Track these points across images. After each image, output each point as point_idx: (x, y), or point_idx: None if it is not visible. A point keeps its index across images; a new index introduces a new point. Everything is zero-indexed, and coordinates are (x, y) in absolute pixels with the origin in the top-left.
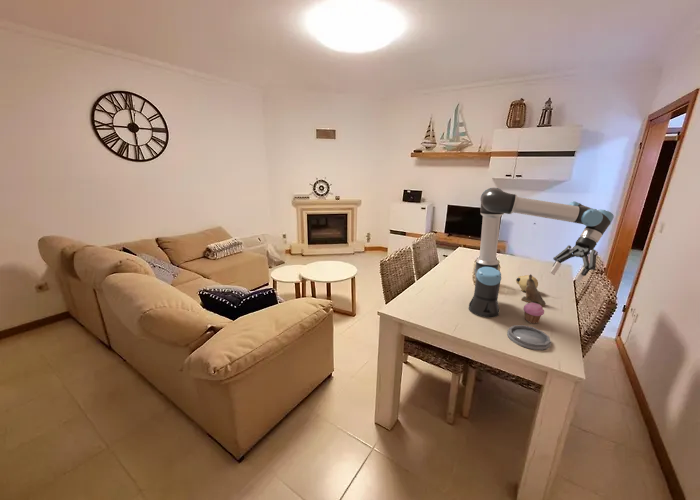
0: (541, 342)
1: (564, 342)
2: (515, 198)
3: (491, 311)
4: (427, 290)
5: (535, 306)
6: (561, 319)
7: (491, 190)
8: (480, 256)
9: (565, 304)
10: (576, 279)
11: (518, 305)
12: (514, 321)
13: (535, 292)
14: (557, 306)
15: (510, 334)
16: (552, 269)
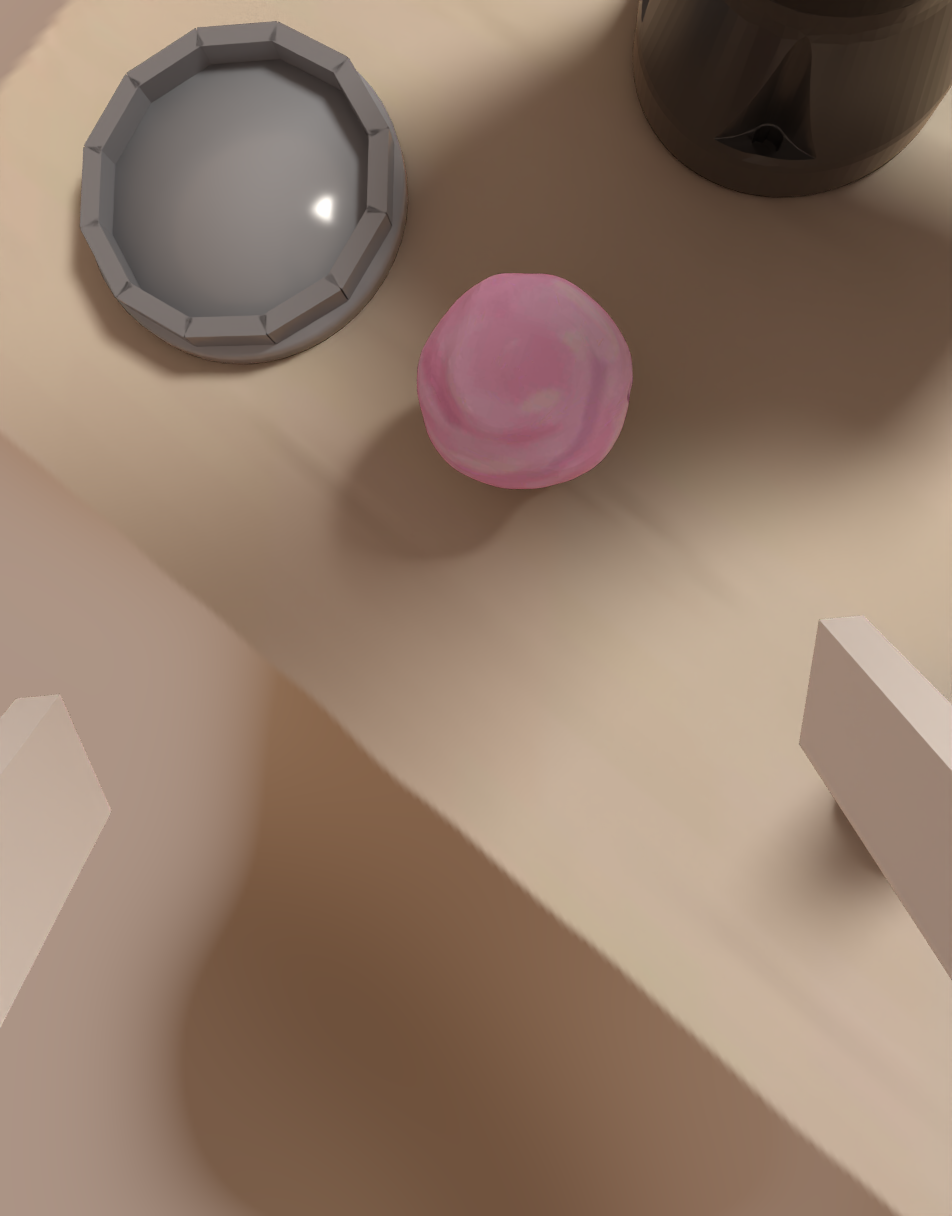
0: (152, 247)
1: (177, 481)
2: None
3: (648, 4)
4: None
5: (469, 334)
6: (547, 777)
7: None
8: None
9: (902, 1141)
10: (16, 710)
11: (904, 524)
12: (543, 260)
13: None
14: (851, 989)
15: (263, 31)
16: (888, 680)
